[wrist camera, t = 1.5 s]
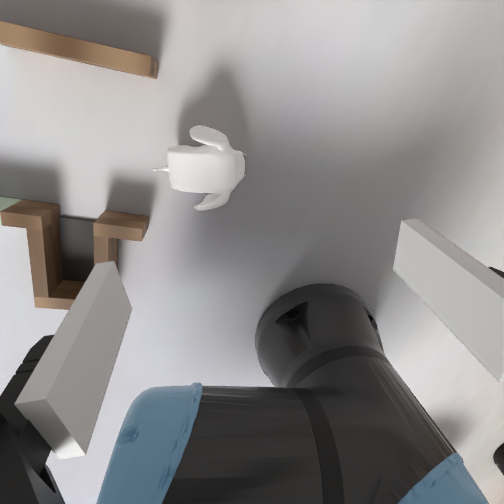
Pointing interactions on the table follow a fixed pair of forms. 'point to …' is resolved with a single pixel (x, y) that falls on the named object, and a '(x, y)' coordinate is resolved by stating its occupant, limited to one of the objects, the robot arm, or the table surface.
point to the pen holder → (499, 458)
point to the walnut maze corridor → (47, 214)
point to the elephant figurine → (206, 167)
